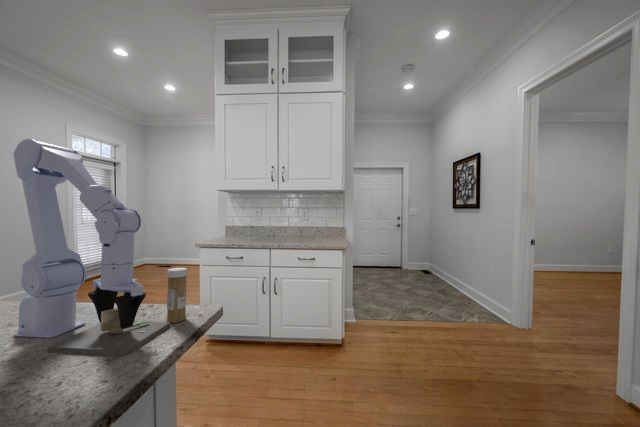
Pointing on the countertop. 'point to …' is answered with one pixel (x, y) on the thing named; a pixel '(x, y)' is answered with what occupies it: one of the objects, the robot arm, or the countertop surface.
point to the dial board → (109, 340)
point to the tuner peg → (113, 321)
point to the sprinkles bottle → (176, 295)
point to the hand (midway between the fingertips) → (116, 324)
